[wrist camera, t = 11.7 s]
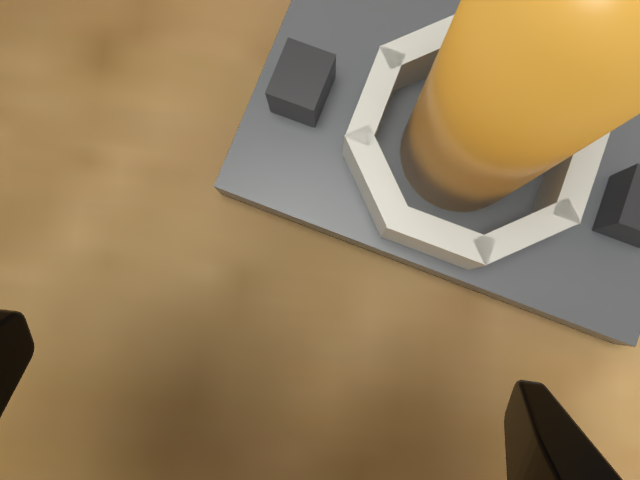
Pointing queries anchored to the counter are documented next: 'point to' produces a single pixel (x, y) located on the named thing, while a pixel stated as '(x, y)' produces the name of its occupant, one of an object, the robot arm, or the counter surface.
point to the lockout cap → (519, 95)
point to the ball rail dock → (399, 196)
